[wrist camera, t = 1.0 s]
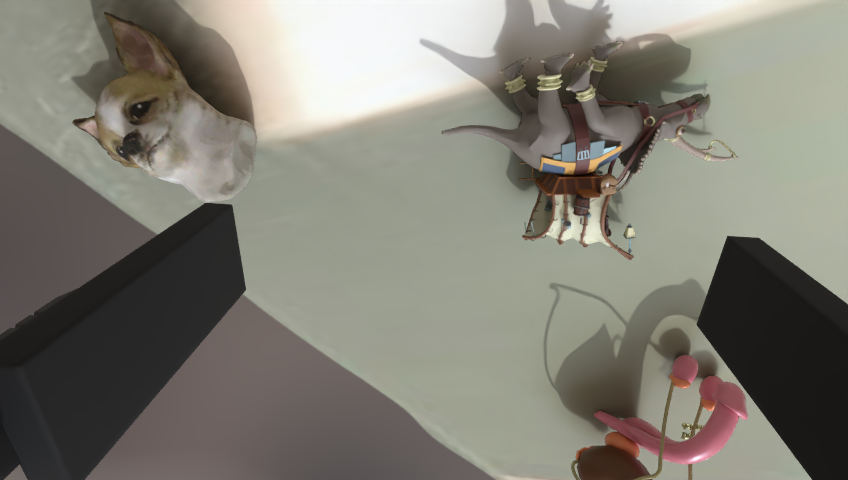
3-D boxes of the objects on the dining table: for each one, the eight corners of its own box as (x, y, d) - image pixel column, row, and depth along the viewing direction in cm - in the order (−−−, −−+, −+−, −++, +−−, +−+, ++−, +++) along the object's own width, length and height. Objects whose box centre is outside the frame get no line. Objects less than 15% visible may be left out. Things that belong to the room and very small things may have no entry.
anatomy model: (791, 397, 40) (764, 586, 33) (658, 390, 52) (620, 528, 45) (711, 334, 38) (667, 522, 31) (593, 342, 50) (544, 478, 44)
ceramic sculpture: (191, 260, 33) (-1, 141, 31) (250, 220, 41) (99, 124, 39) (250, 137, 29) (33, -7, 27) (302, 119, 37) (136, 7, 35)
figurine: (769, 14, 26) (745, 267, 33) (712, 17, 32) (701, 234, 39) (431, 84, 29) (472, 309, 35) (432, 76, 34) (468, 272, 41)
